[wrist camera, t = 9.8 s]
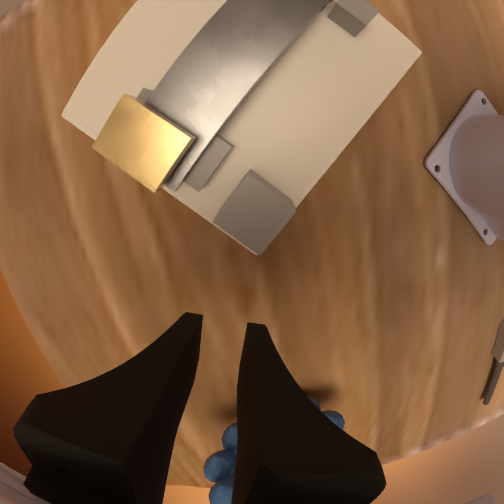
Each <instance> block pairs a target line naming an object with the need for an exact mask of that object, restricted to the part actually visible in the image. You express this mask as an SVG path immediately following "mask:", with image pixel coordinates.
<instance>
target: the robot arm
mask: <svg viewBox="0 0 504 504" xmlns="http://www.w3.org/2000/svg"><path fill="white" fill-rule="evenodd" d="M482 99H483V102H484V104H483V103H482ZM436 165H437V167H438V169H437V171H436V172H435V170H434V167H435V166H436ZM425 167H426V168H427V169H428V171H429V172H430V173H431V174H432V175H433V176H434V177H435V179H436V180H437V181H438V182H439V183H440V184H441V186H442V187H443V188H444V189H445V190H446V192H447V193H448V194H449V195H450V197H451V198H452V199H453V200H454V202H455V203H456V204H457V205H458V207H459V208H460V209H461V210H462V212H463V213H464V214H465V216H466V217H467V218H468V220H469V221H470V222H471V224H472V225H473V227H474V228H475V229H476V231H477V232H478V233H479V235H480V236H481V238H482V239H483V241H484V242H485V243H486V244H487V245H492V244H493V243H494V241H495V240H496V238H499V239H500V240H502V241H504V115H499V114H498V113H497V111H496V110H495V108H494V107H493V106H492V104H491V103H490V101H489V100H488V99H487V97H486V96H485V95H484V93H483V92H482V91H481V90H475V91H474V92H473V93H472V95H471V96H470V98H469V99H468V101H467V102H466V104H465V105H464V106H463V108H462V109H461V111H460V112H459V114H458V115H457V116H456V118H455V119H454V121H453V122H452V124H451V125H450V126H449V128H448V129H447V130H446V132H445V133H444V135H443V136H442V137H441V139H440V140H439V141H438V143H437V144H436V145H435V147H434V148H433V149H432V151H431V152H430V153H429V155H428V156H427V157H426V159H425ZM484 230H485V232H484ZM483 232H484V233H483ZM202 320H203V315H200V314H194V313H188V312H186V313H184V314H183V315H182V316H181V317H180V318H179V319H178V320H177V321H176V322H175V323H174V324H173V325H172V326H171V327H170V328H169V329H168V330H167V331H166V332H164V333H163V334H162V335H161V336H160V337H159V338H158V339H156V340H155V341H154V342H153V343H152V344H150V345H149V346H148V347H146V348H145V349H144V350H142V351H141V352H140V353H138V354H137V355H136V356H134V357H133V358H131V359H130V360H128V361H126V362H125V363H123V364H121V365H120V366H118V367H116V368H114V369H112V370H111V371H108V372H106V373H104V374H102V375H100V376H98V377H96V378H93V379H91V380H88V381H86V382H83V383H80V384H77V385H74V386H71V387H68V388H64V389H61V390H57V391H52V392H48V393H43V394H38V395H36V396H35V398H34V399H33V400H32V401H31V402H30V404H29V405H28V406H27V408H26V409H25V411H24V413H23V414H22V416H21V417H20V419H19V421H18V422H17V423H16V425H15V426H14V428H13V432H14V436H15V439H16V440H17V442H18V444H19V446H20V447H21V449H22V450H23V452H24V453H25V455H26V456H27V458H28V459H29V461H30V462H31V464H32V465H33V466H32V468H31V470H30V472H29V473H28V475H27V477H25V476H23V475H21V474H19V473H18V472H16V471H14V470H12V469H11V468H9V467H7V466H6V465H4V464H2V463H1V462H0V504H162V503H163V497H164V491H165V486H166V480H167V475H168V470H169V465H170V460H171V455H172V450H173V446H174V441H175V437H176V433H177V430H178V426H179V424H180V421H181V418H182V415H183V412H184V409H185V406H186V403H187V400H188V398H189V395H190V392H191V389H192V386H193V383H194V379H195V375H196V370H197V366H198V361H199V353H200V341H201V330H202ZM385 486H386V480H385V476H384V473H383V469H382V466H381V463H380V461H379V459H378V456H377V454H376V452H375V451H373V450H372V449H370V448H368V447H367V446H365V445H364V444H362V443H360V442H359V441H357V440H356V439H354V438H353V437H351V436H350V435H348V434H347V433H346V432H345V431H343V430H342V429H341V428H339V427H338V426H337V425H336V424H334V423H333V422H332V421H331V420H330V419H329V418H328V417H327V416H326V415H325V414H323V413H322V412H321V411H320V410H319V409H318V408H317V407H316V406H315V405H314V404H313V403H312V401H311V400H310V399H309V398H308V397H307V396H306V394H305V393H304V392H303V391H302V389H301V388H300V387H299V385H298V384H297V383H296V381H295V380H294V378H293V377H292V375H291V374H290V372H289V371H288V369H287V368H286V366H285V364H284V362H283V361H282V359H281V357H280V355H279V353H278V352H277V350H276V348H275V345H274V343H273V341H272V339H271V337H270V334H269V332H268V329H267V327H266V326H265V325H263V324H256V323H249V322H248V323H247V329H246V334H245V340H244V345H243V350H242V356H241V361H240V367H239V376H238V384H237V453H236V463H235V473H234V482H233V492H232V500H231V504H370V503H371V502H372V501H373V500H375V499H376V498H377V497H378V496H379V495H380V494H381V492H382V491H383V490H384V488H385ZM465 504H495V502H494V499H493V497H492V495H491V494H490V493H488V494H486V495H484V496H481V497H479V498H476V499H474V500H471V501H469V502H467V503H465Z"/></svg>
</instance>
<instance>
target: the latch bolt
mask: <svg viewBox="0 0 504 504" xmlns="http://www.w3.org/2000/svg"><path fill="white" fill-rule="evenodd" d="M195 139H196V137H194V136H193V135H191V134H190V133H188V132H187V131H185V130H184V129H183V128H181V127H180V126H178V125H177V124H175V123H174V122H172V121H171V120H169V119H168V118H166V117H165V116H163V115H162V114H160V113H159V112H157V111H156V110H154V109H153V108H151V107H150V106H148V105H147V104H145V103H144V102H142V101H140V100H139V99H137V98H136V97H134V96H132V95H128V94H123V95H122V97H121V98H120V100H119V101H118V103H117V105H116V106H115V108H114V109H113V111H112V113H111V114H110V116H109V118H108V119H107V121H106V123H105V125H104V126H103V128H102V130H101V132H100V133H99V135H98V137H97V139H96V140H95V142H94V144H93V146H92V148H93V149H95V150H96V151H97V152H99V153H100V154H102V155H103V156H104V157H106V158H107V159H108V160H110V161H111V162H113V163H114V164H115V165H117V166H118V167H119V168H121V169H122V170H124V171H125V172H126V173H128V174H129V175H131V176H132V177H133V178H135V179H136V180H137V181H139V182H140V183H142V184H143V185H144V186H146V187H147V188H149V189H150V190H151V191H153V192H154V193H155V192H156V191H158V190H160V189H162V188H163V186H164V185H165V183H166V181H167V180H168V178H169V177H170V175H171V174H172V172H173V171H174V169H175V168H176V166H177V165H178V163H179V162H180V161H181V159H182V158H183V156H184V155H185V153H186V152H187V150H188V149H189V148H190V146H191V145H192V143H193V142H194V141H195Z"/></svg>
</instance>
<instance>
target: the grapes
mask: <svg viewBox="0 0 504 504" xmlns="http://www.w3.org/2000/svg"><path fill="white" fill-rule="evenodd" d="M308 398H309V399H310V400H311V401H312V403H313V404H314V405H315V406H316V407H317V408H318V409H319V410H320V405H319V402H318V401H316V400H315V399H314V398H310V397H308ZM322 413H323V414H325V415H326V416H327V417H328V418H329V419H330V420H331V421H332V422H333V423H334V424H336V425H337V426H338V427H339V428H341V429H342V430H343V427H344V423H345V422H344V419H343V416H342V415H341V414H340V413H338V412H337V411H330V410H326V411H324V412H322ZM222 443H223V448H225V449H226V450H221V451H217V452H215V453H213V454H212V455H211V456H210V457H209V458H208V459H207V460H206V462H205V465H204V473H205V477H206V478H207V479H208V480H210V481H211V482H217V483H215V484H214V485H213V486H212V487H211V490H210V492H209V501H210V504H231V500H232V492H233V482H234V473H235V463H236V453H237V422H236V423H234V424H232V425H230V426H229V427H228V428H227V429H226V430H225V431H224V433H223V436H222Z"/></svg>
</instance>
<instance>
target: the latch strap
mask: <svg viewBox="0 0 504 504" xmlns="http://www.w3.org/2000/svg"><path fill="white" fill-rule="evenodd" d="M332 1H333V0H227V1H226V2H225V3H224V4H223V5H222V6H221V7H220V8H219V9H218V11H217V12H216V13H215V14H214V15H213V16H212V17H211V18H210V19H209V21H208V22H207V23H206V24H205V25H204V26H203V27H202V29H201V30H200V31H199V32H198V33H197V34H196V36H195V37H194V38H193V39H192V40H191V42H190V43H189V44H188V45H187V47H186V48H185V49H184V50H183V52H182V53H181V54H180V55H179V57H178V58H177V59H176V61H175V62H174V63H173V64H172V66H171V67H170V68H169V70H168V71H167V72H166V74H165V75H164V77H163V78H162V79H161V81H160V82H159V83H158V85H157V86H156V88H155V89H154V91H153V92H152V93H151V95H150V96H149V98H148V99H147V101H146V102H145V104H147V105H148V106H150V107H151V108H153V109H154V110H156V111H157V112H159V113H160V114H162V115H163V116H165V117H166V118H168V119H169V120H171V121H172V122H174V123H175V124H177V125H178V126H180V127H181V128H183V129H184V130H185V131H187V132H188V133H190V134H191V135H193V136H194V137H196V139H195V141H194V142H193V143H192V145H191V146H190V148H189V149H188V150H187V152H186V153H185V155H184V156H183V158H182V159H181V161H180V162H179V163H178V165H177V166H176V168H175V169H174V171H173V172H172V174H171V175H170V177H169V178H168V180H167V181H166V183H165V186H166V187H167V188H169V189H170V190H172V191H173V192H175V191H177V190H178V189H179V188H180V187H181V185H182V184H183V182H184V181H185V179H186V178H187V176H188V175H189V173H190V172H191V170H192V169H193V168H194V166H195V165H196V163H197V162H198V160H199V159H200V158H201V156H202V155H203V153H204V152H205V151H206V149H207V148H208V147H209V145H210V144H211V142H212V141H213V140H214V138H215V137H216V136H217V134H218V133H219V132H220V130H221V129H222V128H223V126H224V125H225V124H226V122H227V121H228V120H229V119H230V117H231V116H232V115H233V113H234V112H235V111H236V110H237V108H238V107H239V106H240V104H241V103H242V102H243V101H244V99H245V98H246V97H247V96H248V94H249V93H250V92H251V91H252V89H253V88H254V87H255V86H256V85H257V83H258V82H259V81H260V80H261V78H262V77H263V76H264V75H265V74H266V73H267V71H268V70H269V69H270V68H271V67H272V65H273V64H274V63H275V62H276V61H277V60H278V58H279V57H280V56H281V55H282V54H283V53H284V52H285V50H286V49H287V48H288V47H289V46H290V45H291V44H292V43H293V42H294V40H295V39H296V38H297V37H298V36H299V35H300V34H301V33H302V32H303V31H304V30H305V28H306V27H307V26H308V25H309V24H310V23H311V22H312V21H313V20H314V19H315V18H316V17H317V16H318V15H319V14H320V13H321V12H322V11H323V10H324V9H325V7H326V5H327V3H331V2H332Z"/></svg>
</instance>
